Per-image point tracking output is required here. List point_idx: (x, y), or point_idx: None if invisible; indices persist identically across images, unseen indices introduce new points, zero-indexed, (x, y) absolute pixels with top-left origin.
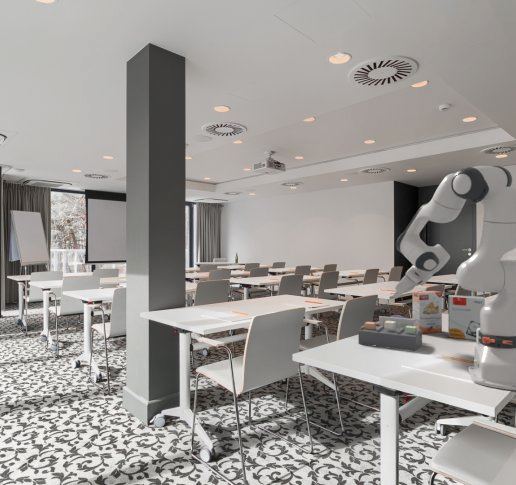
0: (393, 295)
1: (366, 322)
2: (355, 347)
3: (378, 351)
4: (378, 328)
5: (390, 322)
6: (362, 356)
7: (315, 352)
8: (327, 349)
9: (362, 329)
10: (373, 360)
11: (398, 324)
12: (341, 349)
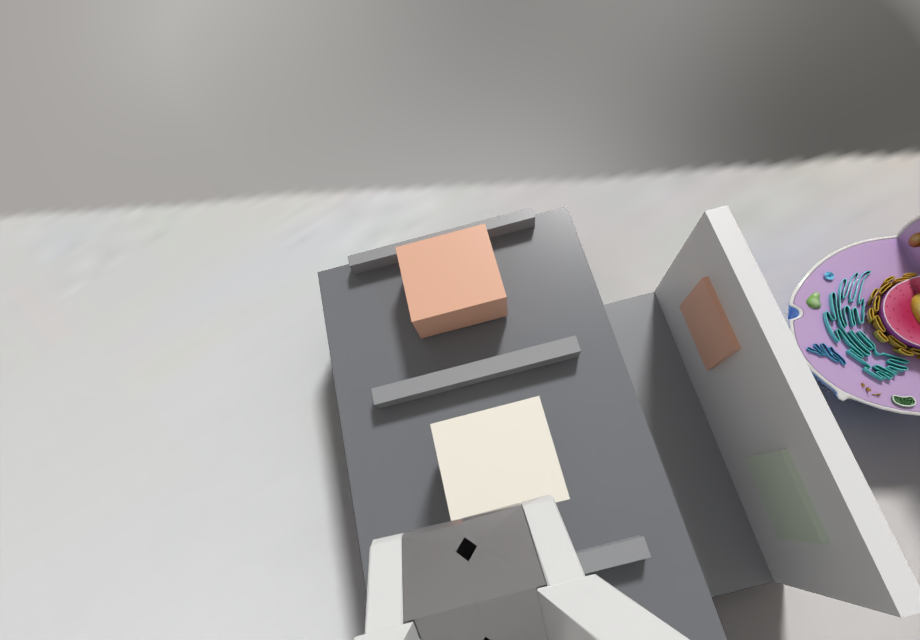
0: (370, 564)
1: (440, 240)
2: (251, 350)
3: (244, 521)
4: (422, 383)
5: (468, 482)
6: (66, 507)
7: (19, 262)
8: (112, 266)
9: (377, 270)
10: (9, 618)
11: (766, 424)
12: (155, 319)
